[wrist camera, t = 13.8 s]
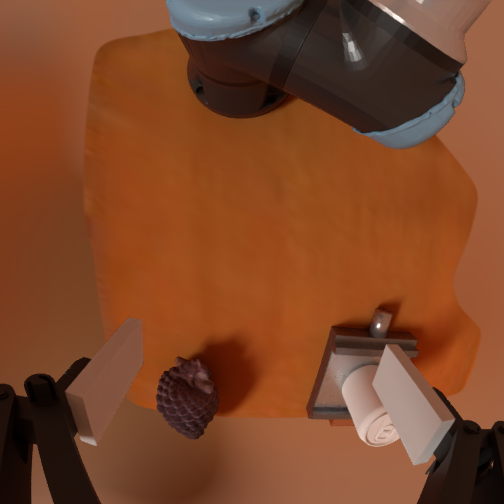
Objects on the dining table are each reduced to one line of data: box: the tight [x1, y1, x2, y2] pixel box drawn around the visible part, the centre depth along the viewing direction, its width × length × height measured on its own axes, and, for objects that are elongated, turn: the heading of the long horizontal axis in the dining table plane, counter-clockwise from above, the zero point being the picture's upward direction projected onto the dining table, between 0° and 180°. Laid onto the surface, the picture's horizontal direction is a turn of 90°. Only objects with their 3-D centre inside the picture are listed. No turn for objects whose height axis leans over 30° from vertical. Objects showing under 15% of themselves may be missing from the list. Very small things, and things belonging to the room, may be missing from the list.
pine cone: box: [156, 356, 219, 439], centre depth 42 cm, size 18×10×10 cm, turn 175°
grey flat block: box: [306, 308, 419, 426], centre depth 44 cm, size 23×15×4 cm, turn 171°
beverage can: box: [342, 365, 400, 447], centre depth 38 cm, size 8×8×12 cm
